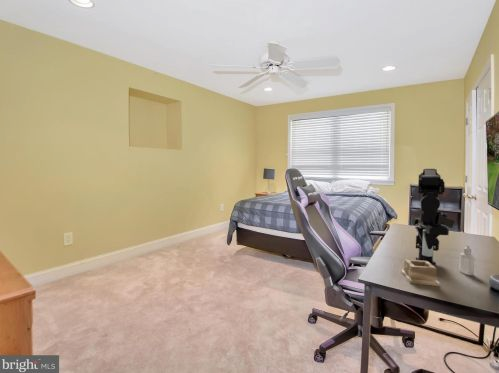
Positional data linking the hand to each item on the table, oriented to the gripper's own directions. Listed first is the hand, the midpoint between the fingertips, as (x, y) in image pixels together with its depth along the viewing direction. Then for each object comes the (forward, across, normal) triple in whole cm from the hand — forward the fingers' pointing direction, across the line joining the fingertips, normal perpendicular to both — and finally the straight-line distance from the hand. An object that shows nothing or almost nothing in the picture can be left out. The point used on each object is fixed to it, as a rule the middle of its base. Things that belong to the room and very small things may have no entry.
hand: (427, 247), depth 107 cm
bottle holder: (+13, +1, +2) cm, 13 cm away
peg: (+3, 0, 0) cm, 3 cm away
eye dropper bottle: (+13, +10, -19) cm, 25 cm away
